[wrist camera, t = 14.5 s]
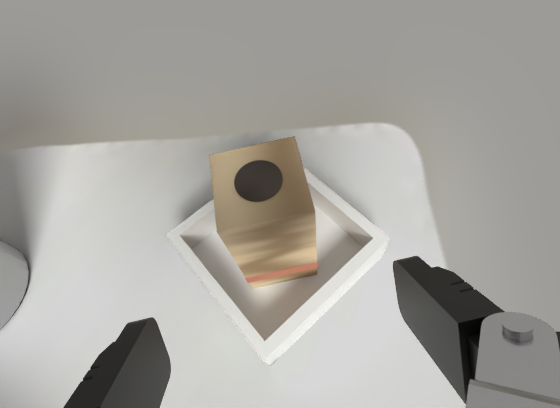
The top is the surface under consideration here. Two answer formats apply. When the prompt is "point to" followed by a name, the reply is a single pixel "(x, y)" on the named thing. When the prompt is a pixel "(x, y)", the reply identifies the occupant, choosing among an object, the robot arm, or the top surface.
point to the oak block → (265, 211)
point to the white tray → (291, 294)
